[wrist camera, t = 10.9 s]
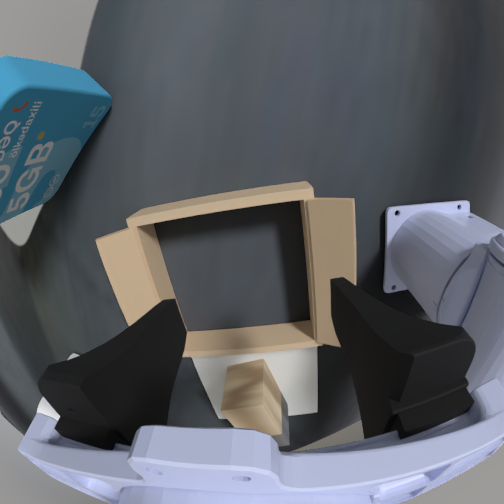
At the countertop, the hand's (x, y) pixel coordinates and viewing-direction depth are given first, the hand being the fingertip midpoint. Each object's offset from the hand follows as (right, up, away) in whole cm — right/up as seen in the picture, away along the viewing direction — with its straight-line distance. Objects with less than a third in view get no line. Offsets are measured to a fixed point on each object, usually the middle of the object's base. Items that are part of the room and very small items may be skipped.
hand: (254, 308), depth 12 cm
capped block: (+1, -13, +16) cm, 21 cm away
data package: (-17, +13, +7) cm, 22 cm away
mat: (+1, -13, +17) cm, 21 cm away
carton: (-2, +1, +11) cm, 11 cm away
